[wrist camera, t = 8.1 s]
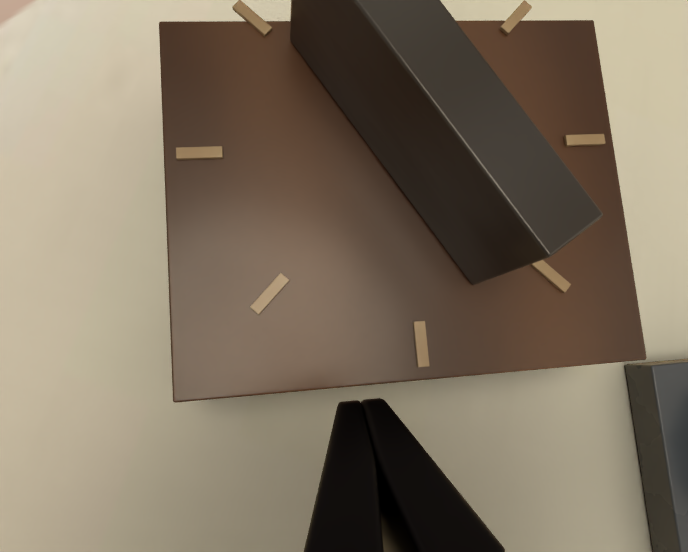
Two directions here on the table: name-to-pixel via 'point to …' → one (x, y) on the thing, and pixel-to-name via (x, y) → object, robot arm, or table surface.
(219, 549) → the table surface
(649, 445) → the button box
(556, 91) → the dial console
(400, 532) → the robot arm
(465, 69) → the upright dark panel
